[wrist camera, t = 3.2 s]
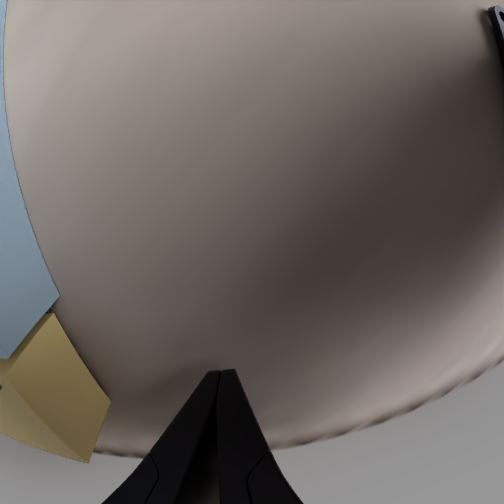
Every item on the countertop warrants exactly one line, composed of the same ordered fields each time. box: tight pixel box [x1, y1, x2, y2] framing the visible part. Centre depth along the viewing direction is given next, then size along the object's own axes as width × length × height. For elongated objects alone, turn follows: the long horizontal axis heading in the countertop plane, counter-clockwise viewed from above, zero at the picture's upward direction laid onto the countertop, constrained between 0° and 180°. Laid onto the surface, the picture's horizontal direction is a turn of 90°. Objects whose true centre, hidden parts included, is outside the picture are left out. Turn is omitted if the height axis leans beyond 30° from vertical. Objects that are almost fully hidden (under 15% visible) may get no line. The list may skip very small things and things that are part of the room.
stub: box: [0, 313, 111, 463], centre depth 8 cm, size 9×5×4 cm, turn 101°
